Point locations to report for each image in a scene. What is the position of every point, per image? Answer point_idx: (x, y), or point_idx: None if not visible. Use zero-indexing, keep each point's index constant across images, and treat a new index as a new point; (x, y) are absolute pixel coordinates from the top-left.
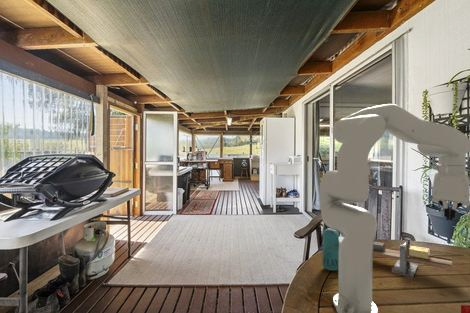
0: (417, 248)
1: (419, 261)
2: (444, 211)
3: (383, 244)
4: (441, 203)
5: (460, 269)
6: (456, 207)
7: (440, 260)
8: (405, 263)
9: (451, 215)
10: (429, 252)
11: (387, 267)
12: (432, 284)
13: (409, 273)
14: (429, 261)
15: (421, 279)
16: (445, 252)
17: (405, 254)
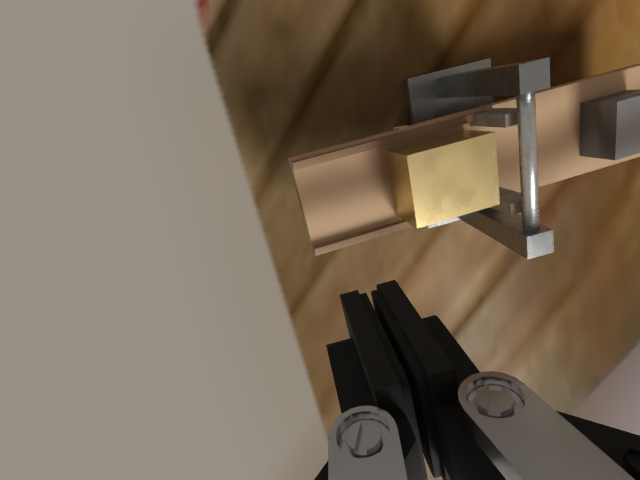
0: (462, 178)
1: (417, 125)
2: (464, 352)
3: (616, 128)
4: (609, 452)
5: (313, 342)
6: (329, 460)
7: (349, 207)
8: (462, 86)
9: (360, 324)
10: (406, 215)
11: (511, 96)
12: (334, 96)
13: (426, 97)
14: (380, 139)
15: (378, 105)
16: None
17: (488, 76)
